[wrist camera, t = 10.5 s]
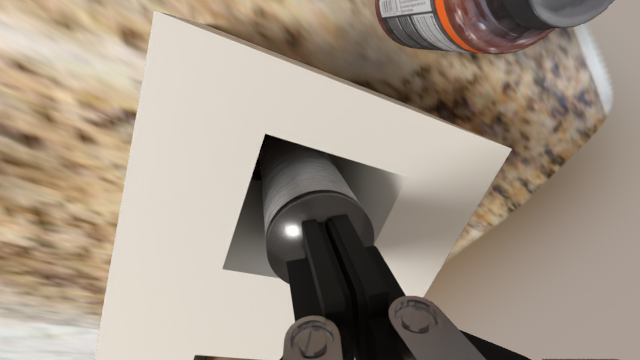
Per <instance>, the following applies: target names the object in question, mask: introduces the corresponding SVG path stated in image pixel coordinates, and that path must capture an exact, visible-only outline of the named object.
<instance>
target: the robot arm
mask: <svg viewBox="0 0 640 360" xmlns="http://www.w3.org/2000/svg"><path fill="white" fill-rule="evenodd" d="M301 226H302V235H303V244H304V252H305V258H301V259H296V260H290V261H286V264H287V271H288V278H289V285H290V292H291V298H292V305H293V312H294V319H295V323H293V324H292V325H291V326H290V327H289V329H288V331H287V332H286V334H285V339H284V347H283V356H282V357H281V359H280V360H354V357H355V360H531V359H529V358H527V357H525V356H523V355H520V354H518V353H515V352H512V351H510V350H508V349H506V348H503V347H501V346H498V345H496V344H493V343H491V342H488V341H486V340H483V339H481V338H478V337H476V336H473V335H471V334H469V333H466V332H463V331H461V330H459V329H458V328H457V327H456V326H455V325H454V324H453V323H452V322H451V321H450V320H449V318H448V317H447V316H446V315H445V314H444V313H443V312H442V311H441V310H440V309H439V307H437V306H436V305H435V304H434V303H433V302H431V301H429V300H427V299H425V298H422V297H419V296H406V295H405V293H404V292H403V290H402V288H401V287H400V285H399V283H398V282H397V280H396V278H395V277H394V275H393V273H392V272H391V270H390V268H389V267H388V265H387V263H386V262H385V260H384V258H383V257H382V255H381V253H380V251H379V250H378V248H377V247H376V246H375V245H373V246H367V247H364V245H363V243H362V241H361V239H360V237H359V235H358V234H357V232H356V230H355V228H354V226H353V224H352V222H351V221H350V219H349V217H348V215H347V214H343V215H337V216H332V217H331V221H327V232H326V229H325V227H324V224H323V222H319V223H318V222H317V220H316V219H313V220H307V221H301ZM542 360H617V359H542Z"/></svg>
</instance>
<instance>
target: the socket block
mask: <svg viewBox="0 0 640 360" xmlns="http://www.w3.org/2000/svg"><path fill="white" fill-rule="evenodd" d="M265 134H268V135H271V136H275V137H278V138H281V139H284V140H288V141H291V142H294V143H297V144H301V145H304V146H307V147H311V148H314V149H317V150H320V151H324V152H327V153H330V155H329V157H330V159H331V160H332V162H333V163H334V165H335V166H336V168H337V169H338V171H339V172H340V174H341V176H342V177H343V179H344V180H345V182H346V183H347V185H348V186H349V188H350V189H351V191H352V192H353V194H354V195H355V197H356V198H357V200H358V201H359V203H360V205H361V206H362V208H363V209H364V211H365V212H366V214H367V215H368V217H369V218H370V220H371V223H372V225H373V229H374V245H375V246H376V247H377V248H378V250H379V251H380V253H381V255H382V257H383V258H384V260H385V262H386V263H387V265H388V267H389V268H390V270H391V272H392V273H393V275H394V277H395V278H396V280H397V282H398V283H399V285H400V287H401V288H402V290H403V292H404V293H405V295H406V296H419V297H422V298H423V297H424V295H425V294H426V292H427V290H428V288H429V287H430V285H431V284H432V282H433V280H434V279H435V277H436V275H437V273H438V272H439V270H440V269H441V267H442V265H443V264H444V262H445V260H446V258H447V257H448V255H449V253H450V252H451V250H452V248H453V247H454V245H455V243H456V242H457V240H458V238H459V237H460V235H461V233H462V232H463V230H464V228H465V227H466V225H467V223H468V222H469V220H470V218H471V217H472V215H473V213H474V212H475V210H476V208H477V207H478V205H479V203H480V202H481V200H482V198H483V197H484V195H485V193H486V192H487V190H488V188H489V187H490V185H491V183H492V182H493V180H494V178H495V177H496V175H497V173H498V172H499V170H500V168H501V167H502V165H503V163H504V161H505V160H506V158H507V156H508V155H509V153H510V151H511V150H512V149H511V148H509V147H506V146H504V145H502V144H499V143H497V142H495V141H492V140H490V139H488V138H485V137H483V136H481V135H478V134H476V133H474V132H471V131H469V130H467V129H464V128H462V127H460V126H457V125H455V124H453V123H450V122H448V121H446V120H443V119H441V118H439V117H436V116H434V115H432V114H429V113H427V112H424V111H422V110H420V109H417V108H415V107H413V106H410V105H408V104H406V103H403V102H401V101H398V100H395V99H393V98H390V97H388V96H385V95H383V94H380V93H378V92H375V91H372V90H370V89H367V88H365V87H362V86H360V85H357V84H355V83H352V82H350V81H347V80H344V79H342V78H339V77H337V76H334V75H332V74H329V73H327V72H324V71H321V70H319V69H316V68H314V67H311V66H309V65H306V64H304V63H301V62H299V61H296V60H293V59H291V58H288V57H286V56H283V55H281V54H278V53H276V52H273V51H270V50H268V49H265V48H263V47H260V46H258V45H255V44H253V43H250V42H248V41H245V40H242V39H240V38H237V37H235V36H232V35H230V34H227V33H225V32H222V31H219V30H217V29H214V28H212V27H209V26H207V25H204V24H201V23H198V22H194V21H191V20H187V19H183V18H180V17H176V16H173V15H169V14H166V13H162V12H158V11H154V16H153V22H152V28H151V34H150V39H149V45H148V51H147V57H146V63H145V68H144V74H143V80H142V86H141V92H140V97H139V103H138V109H137V115H136V120H135V126H134V132H133V138H132V144H131V149H130V155H129V161H128V167H127V173H126V178H125V184H124V190H123V196H122V202H121V207H120V213H119V219H118V225H117V230H116V236H115V242H114V248H113V254H112V259H111V265H110V271H109V277H108V283H107V288H106V294H105V300H104V306H103V312H102V317H101V323H100V329H99V335H98V340H97V346H96V352H95V358H94V360H204V357H205V356H217V357H231V358H244V359H258V360H280V359H281V357H282V356H283V347H284V339H285V334H286V332H287V331H288V329H289V327H290V326H291V325H292V324H293V323H295V319H294V312H293V305H292V298H291V292H290V285H289V284H288V283H286V282H284V281H283V280H281V279H280V278H279V277H278V276H277V275H276V274H275V273H274V272H273V270H272V269H271V267H270V265H269V262H268V259H267V252H266V239H265V225H264V211H263V197H262V183H261V181H257V180H253V179H251V177H252V174H253V171H254V167H255V164H256V161H257V158H258V155H259V152H260V148H261V145H262V142H263V139H264V136H265ZM354 360H355V357H354Z"/></svg>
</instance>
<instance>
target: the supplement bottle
mask: <svg viewBox="0 0 640 360" xmlns="http://www.w3.org/2000/svg"><path fill="white" fill-rule="evenodd" d="M613 1H614V0H375V8H376V14H377V17H378V20H379V23H380V25H381V27H382V28H383V30H384V31H385V33H386V34H387V35H388V36H389V37H390V38H391V39H392V40H394V41H395V42H397V43H399V44H401V45H403V46H407V47H411V48H418V49H430V50H441V51H453V52H466V53H483V54H506V53H511V52H516V51H519V50H522V49H525V48H527V47H529V46H531V45H533V44H535V43H537V42H538V41H540V40H541V39H543V38H544V37H546V36H547V35H548V34H549V33H550V32H552V31H553V30H554V29H555V28H568V27H575V26H578V25H581V24H584V23H586V22H588V21H590V20H592V19H594V18H595V17H596V16H598V15H599V14H601V13H602V12H603V11H605V10H606V9H607V8H608V6H609V5H610V4H611V3H612V2H613Z"/></svg>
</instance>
